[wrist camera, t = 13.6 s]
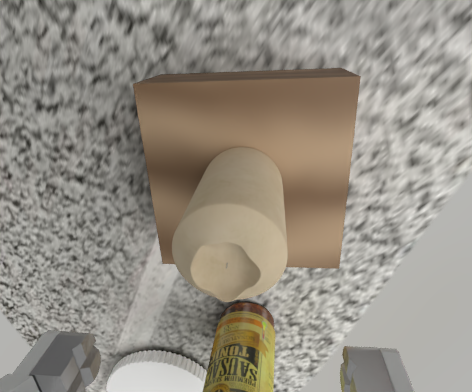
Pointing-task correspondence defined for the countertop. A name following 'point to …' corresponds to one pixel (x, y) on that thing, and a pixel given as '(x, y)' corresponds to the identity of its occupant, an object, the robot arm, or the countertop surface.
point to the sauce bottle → (242, 351)
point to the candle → (234, 227)
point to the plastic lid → (156, 373)
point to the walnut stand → (255, 146)
